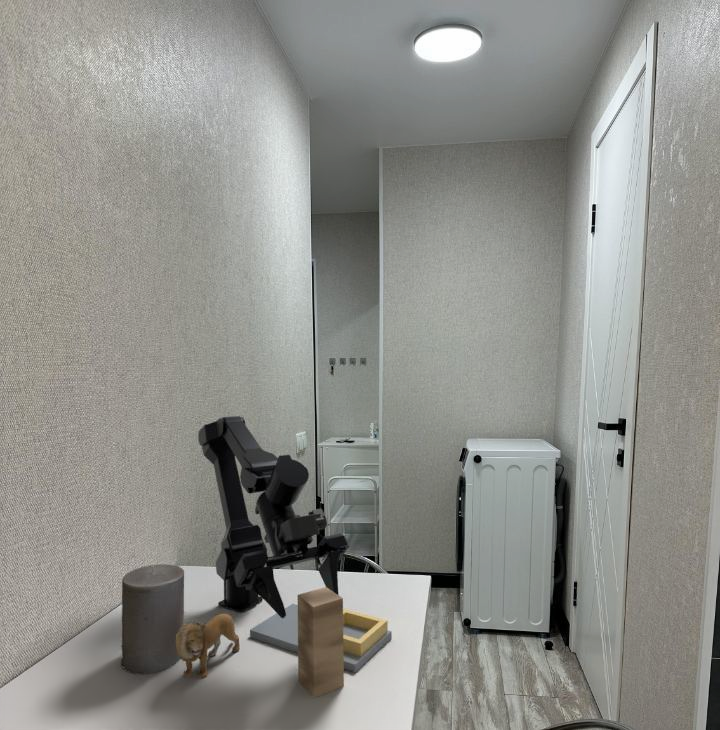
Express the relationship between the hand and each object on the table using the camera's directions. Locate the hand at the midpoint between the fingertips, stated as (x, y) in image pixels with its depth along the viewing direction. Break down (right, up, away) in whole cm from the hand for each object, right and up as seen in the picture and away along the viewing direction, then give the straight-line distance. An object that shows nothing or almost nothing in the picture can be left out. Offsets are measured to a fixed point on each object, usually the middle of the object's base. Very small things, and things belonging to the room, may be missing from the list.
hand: (311, 609), depth 81 cm
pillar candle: (-26, -11, +5) cm, 29 cm away
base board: (+1, -10, +11) cm, 15 cm away
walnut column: (+2, -10, -2) cm, 11 cm away
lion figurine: (-16, -11, +2) cm, 20 cm away
